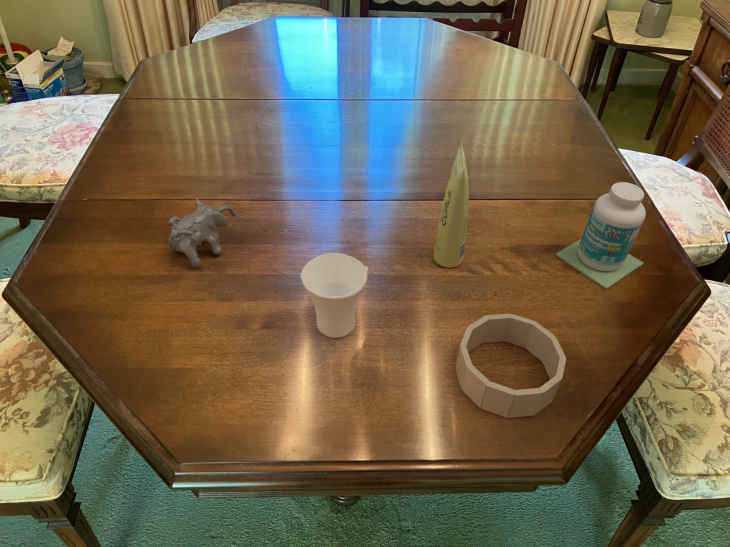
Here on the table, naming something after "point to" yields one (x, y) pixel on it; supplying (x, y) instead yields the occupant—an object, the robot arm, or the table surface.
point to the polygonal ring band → (521, 335)
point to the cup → (334, 291)
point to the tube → (453, 216)
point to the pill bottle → (612, 227)
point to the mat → (597, 276)
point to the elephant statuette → (198, 230)
